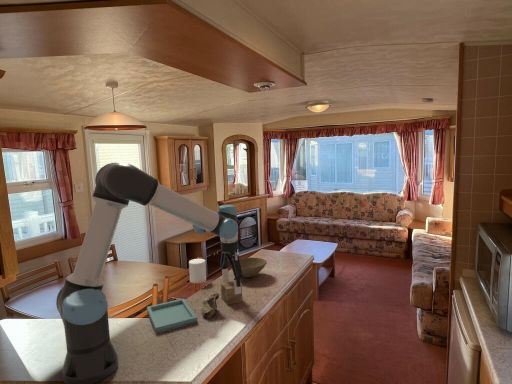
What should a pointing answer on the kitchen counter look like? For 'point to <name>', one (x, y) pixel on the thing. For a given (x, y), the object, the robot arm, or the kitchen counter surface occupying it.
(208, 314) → the rock
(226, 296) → the walnut cube
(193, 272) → the mug
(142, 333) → the kitchen counter surface
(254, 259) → the bowl
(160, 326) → the tray
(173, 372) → the kitchen counter surface
